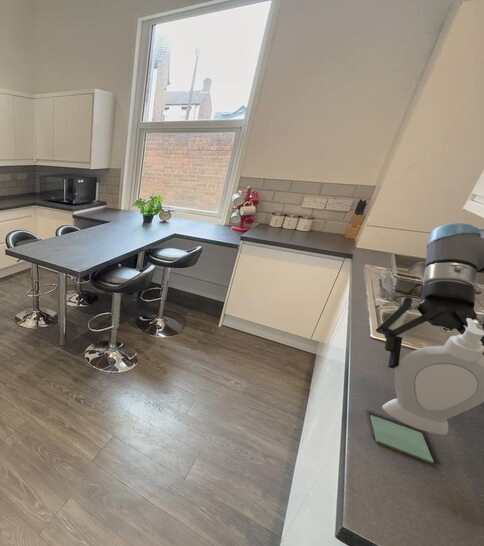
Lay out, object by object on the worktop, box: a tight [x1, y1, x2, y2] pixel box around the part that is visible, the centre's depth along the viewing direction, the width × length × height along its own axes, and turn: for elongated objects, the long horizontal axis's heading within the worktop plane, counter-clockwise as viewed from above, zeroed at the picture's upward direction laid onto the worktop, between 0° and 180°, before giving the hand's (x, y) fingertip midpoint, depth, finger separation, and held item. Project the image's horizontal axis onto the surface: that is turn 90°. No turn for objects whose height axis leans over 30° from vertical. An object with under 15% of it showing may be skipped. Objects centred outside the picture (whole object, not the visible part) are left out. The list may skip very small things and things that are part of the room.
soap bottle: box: [381, 318, 484, 436], centre depth 63 cm, size 13×8×24 cm, turn 50°
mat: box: [369, 415, 435, 465], centre depth 71 cm, size 9×9×1 cm
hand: (438, 379), depth 63 cm, fingers closed on soap bottle, 13 cm apart
